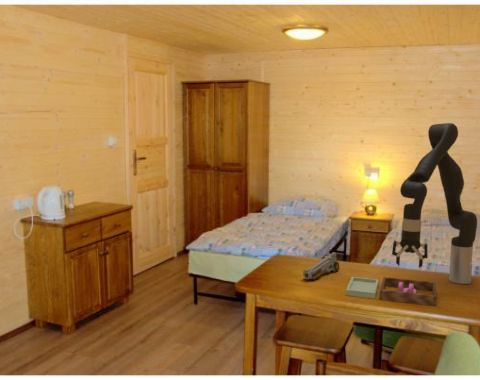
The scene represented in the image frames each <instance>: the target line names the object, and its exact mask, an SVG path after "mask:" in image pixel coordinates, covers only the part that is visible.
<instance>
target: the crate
mask: <svg viewBox="0 0 480 380" xmlns="http://www.w3.org/2000/svg"><path fill="white" fill-rule="evenodd" d="M399 282H403V283H404V288H409V284H410V283H411V284H414V289H416V290H417V291H423V292H424V291H427V292H432V294H422V293H417V294H416V293H407V292H398V290H397V291H395V290H388V289H386V287H389V288H397V289H398V285H399ZM436 286H437V285H436V282H435V281H429V280H428V281H427V280H420V279H419V280H417V279H410V278H409V279H408V278H398V277H387V276H383V278H382V282H381V284H380V289H379V300H382V301H389V302H399V303H406V304H407V303H408V304H415V305H424V306H425V305H426V306H432V307H436V306H437V288H436Z"/></svg>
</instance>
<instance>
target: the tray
mask: <svg viewBox="0 0 480 380" xmlns="http://www.w3.org/2000/svg"><path fill="white" fill-rule="evenodd" d="M379 282H380V279H378V278H370V277H369V278H368V277H360V276H359V277H357V276H351V278H350V280H349V282H348V285H347V286H346V288H345V296H348V297H356V298H357V297H358V298H364V299H374V300H375V299H376V296H377V292H378V289H379Z"/></svg>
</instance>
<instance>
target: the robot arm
mask: <svg viewBox="0 0 480 380" xmlns="http://www.w3.org/2000/svg"><path fill="white" fill-rule="evenodd" d="M427 135H428V140H429V143H430V146H431V150H430V151H429V152H428V153H426V154H425V155H424V156H423V157H422V158H421V159H420V160H419V161H418V164H417V165H416V167H415V169H414V171H413V172H412V173H410V175H409V176H408V177H407V178H405V180H404V181H403V182H402V184H401V186H400V194H401V196H402V197H403V198H407V199H413V200H414V201H412V203H407V204H405V205H404V206H403V216H402V222H401V223H402V225H401V236H400V237H401V238H400V241H399V240H398V241H397V240H395V239H394V241H393V244H392V250H391V254H392V256H394V257H396V258H395V259H396V260H395V262H396V263H395V264H396V265H397V266H399V267H400V262H401V255H402V254H403V253H410V254H416V255H417V257H418V268H419V269H420V268H422V267H423V263H424V262H423V261H424V260H425V259H428V253H429V252H428V250H429V249H428V243H426V242H425V243H421V231H422V221H421V220H422V219H421V218H422V209H423V206H424V202H425V200H426V196H427V193H428V188H427V185H426V184H425V183H427V182H429V180H430V179H431V177H432V176H433V174H434V171H435V169H436V168H438V172H439V178H440V181H441V185H442V189H443V193H444V198H445V203H446V210H447V216H448V218H447V219H448V222H449V225H450V226H451V228H453V229H455V230H458V231H459V234H458V236H454V237H452V238H451V242H450V257H449V258H450V260H449V273H448V280H449V282H452V283H453V284H454V283H456V284H459V285H462V284H463V285H464V284H465V285H467V284H468V285H469V284H472V270H473V263H472V262H473V249H474V242H475V240H476V235H477V229H478V218H477V217H478V216H477V215H476V214H475V213H474V212H471V211H468V210H464V209H463V206H462V203H461V202H462V201H461V195H462V194H463V190H464V187H465V180H464V176H463V172H462V168H461V167H460V165H459V164H458V163H457V162H456V160H454V159H453V158H452V156H451V155H450V154H449V153H448V152H449V151H450V149H451V148H452V147H453V145H454V144H455V143H456V141H457V139H458V137H459V130H458V126H457V125H456V124H455V123H452V122H451V123H450V122H445V123H435V124H431V125H430V126H429V127H428V133H427ZM399 246H400V250H399V251H396V250H397V247H399ZM420 248H422V249H423V250H424V251H423V252H424V254H422V253H421V251H420V250H419V249H420Z"/></svg>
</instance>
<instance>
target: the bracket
mask: <svg viewBox="0 0 480 380" xmlns="http://www.w3.org/2000/svg"><path fill="white" fill-rule="evenodd" d="M397 291H398V292H407V293H416V294H418V293H417V292H418V290H416V289H414V284H411V283H410V284H409V288H404V283H403V282H399V285H398V288H397Z"/></svg>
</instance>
